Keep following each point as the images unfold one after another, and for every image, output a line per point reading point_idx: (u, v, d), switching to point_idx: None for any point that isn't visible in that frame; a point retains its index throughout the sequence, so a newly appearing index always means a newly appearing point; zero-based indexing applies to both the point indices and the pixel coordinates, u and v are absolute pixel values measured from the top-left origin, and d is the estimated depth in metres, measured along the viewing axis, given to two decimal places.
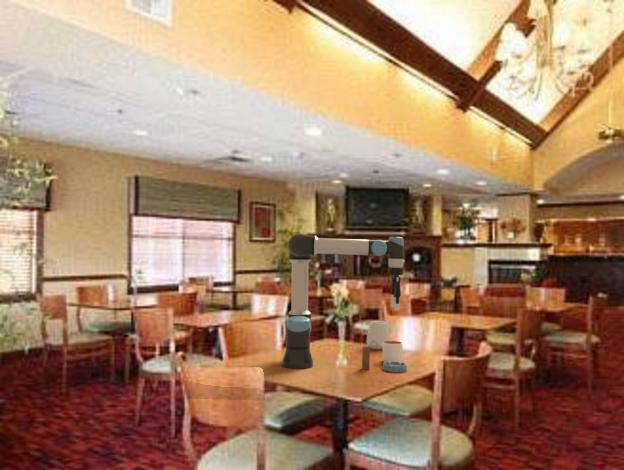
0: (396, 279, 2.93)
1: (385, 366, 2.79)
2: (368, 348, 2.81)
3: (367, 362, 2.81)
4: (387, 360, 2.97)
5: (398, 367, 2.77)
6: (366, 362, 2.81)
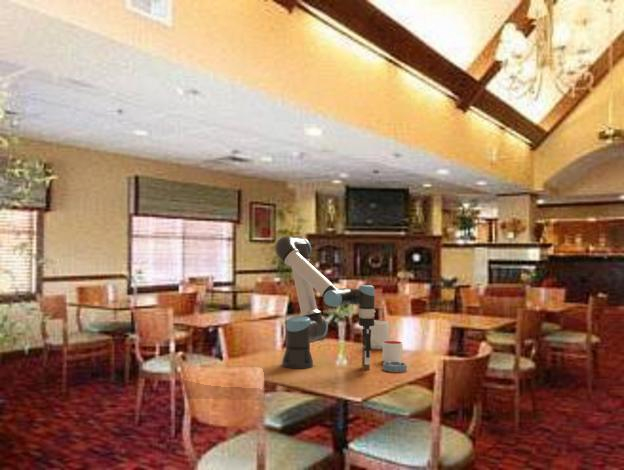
0: (366, 331, 2.76)
1: (385, 366, 2.79)
2: None
3: None
4: (387, 360, 2.97)
5: (398, 367, 2.77)
6: None
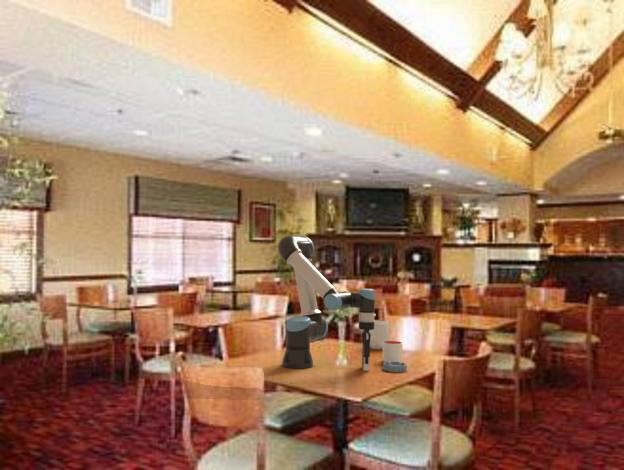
0: (366, 337, 2.76)
1: (385, 366, 2.79)
2: None
3: None
4: (387, 360, 2.97)
5: (398, 367, 2.77)
6: None
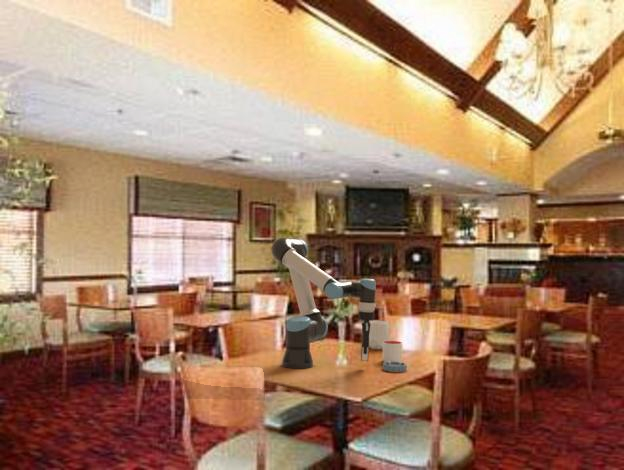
0: (365, 329, 2.77)
1: (385, 366, 2.79)
2: None
3: None
4: (387, 360, 2.97)
5: (398, 367, 2.77)
6: None
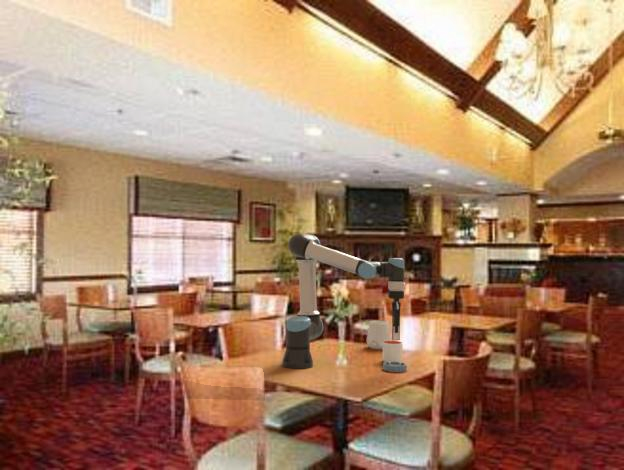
0: (396, 308, 2.76)
1: (385, 366, 2.79)
2: None
3: None
4: (387, 360, 2.97)
5: (398, 367, 2.77)
6: None
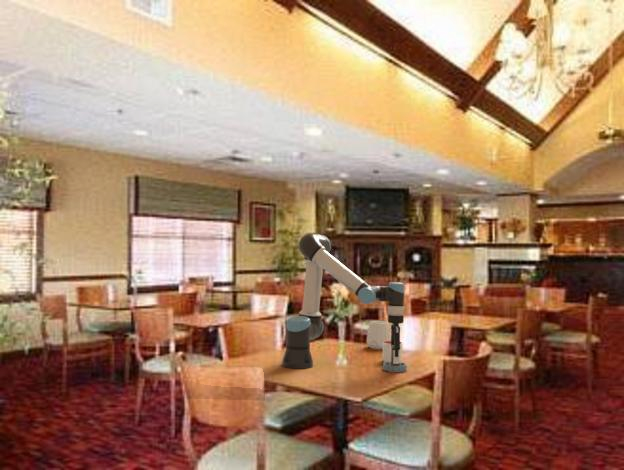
0: (396, 331, 2.76)
1: (385, 366, 2.79)
2: None
3: None
4: (387, 360, 2.97)
5: (398, 367, 2.77)
6: None
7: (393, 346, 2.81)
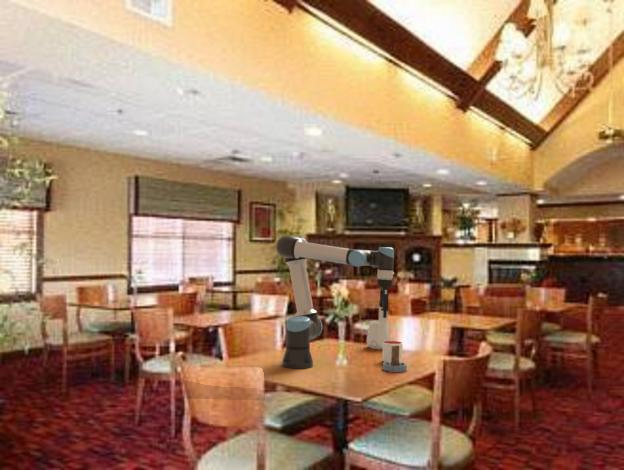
0: (384, 292, 2.79)
1: (385, 366, 2.79)
2: (397, 347, 2.81)
3: (396, 362, 2.81)
4: (387, 360, 2.97)
5: (398, 367, 2.77)
6: (396, 361, 2.81)
7: (393, 346, 2.81)
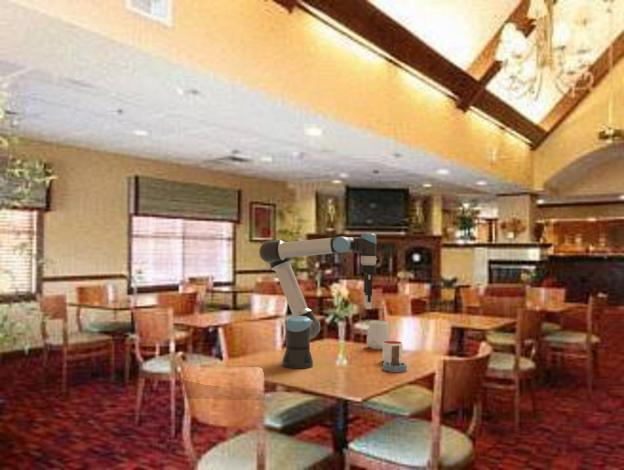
0: (368, 277, 2.84)
1: (385, 366, 2.79)
2: (398, 347, 2.81)
3: (396, 362, 2.81)
4: (387, 360, 2.97)
5: (398, 367, 2.77)
6: (396, 361, 2.81)
7: (393, 346, 2.81)
